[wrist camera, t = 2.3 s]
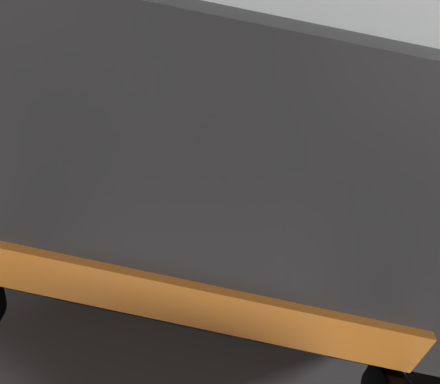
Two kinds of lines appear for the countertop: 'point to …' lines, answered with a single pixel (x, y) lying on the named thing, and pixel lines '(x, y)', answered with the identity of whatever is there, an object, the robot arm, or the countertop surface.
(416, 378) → the countertop surface
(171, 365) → the switch
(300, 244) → the switch middle
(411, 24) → the switch unit
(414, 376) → the countertop surface
